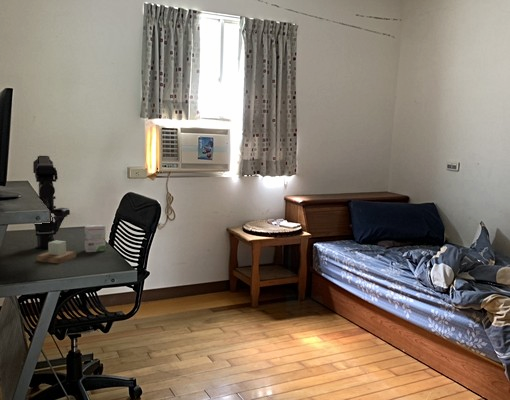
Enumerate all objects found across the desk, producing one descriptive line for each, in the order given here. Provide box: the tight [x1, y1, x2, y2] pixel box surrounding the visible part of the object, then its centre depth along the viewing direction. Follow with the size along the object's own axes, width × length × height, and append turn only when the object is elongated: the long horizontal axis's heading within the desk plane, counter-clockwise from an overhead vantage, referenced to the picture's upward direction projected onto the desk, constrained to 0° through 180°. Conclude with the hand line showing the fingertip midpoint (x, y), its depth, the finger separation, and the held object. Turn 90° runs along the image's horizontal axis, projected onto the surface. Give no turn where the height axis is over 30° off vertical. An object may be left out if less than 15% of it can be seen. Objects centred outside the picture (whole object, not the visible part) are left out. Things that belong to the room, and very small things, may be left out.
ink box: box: [84, 224, 107, 253], centre depth 225 cm, size 8×5×12 cm, turn 119°
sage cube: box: [47, 239, 67, 255], centre depth 209 cm, size 5×5×5 cm
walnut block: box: [36, 250, 77, 264], centre depth 209 cm, size 11×11×3 cm
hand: (47, 230), depth 208 cm, fingers open, 9 cm apart
